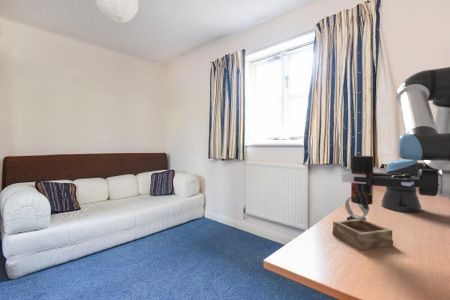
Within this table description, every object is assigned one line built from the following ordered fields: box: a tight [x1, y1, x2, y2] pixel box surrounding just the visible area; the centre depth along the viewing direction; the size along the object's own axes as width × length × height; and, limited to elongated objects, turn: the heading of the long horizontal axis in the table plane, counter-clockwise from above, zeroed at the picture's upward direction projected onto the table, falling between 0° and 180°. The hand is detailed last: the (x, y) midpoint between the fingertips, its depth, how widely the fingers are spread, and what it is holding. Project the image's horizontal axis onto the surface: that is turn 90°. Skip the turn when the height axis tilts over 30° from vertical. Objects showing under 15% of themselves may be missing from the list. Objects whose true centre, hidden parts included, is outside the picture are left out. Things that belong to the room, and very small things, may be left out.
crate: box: [331, 219, 394, 251], centre depth 74 cm, size 12×12×4 cm
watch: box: [344, 197, 370, 221], centre depth 86 cm, size 6×8×11 cm
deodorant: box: [350, 155, 374, 205], centre depth 73 cm, size 6×6×15 cm
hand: (344, 176), depth 76 cm, fingers closed on deodorant, 6 cm apart
